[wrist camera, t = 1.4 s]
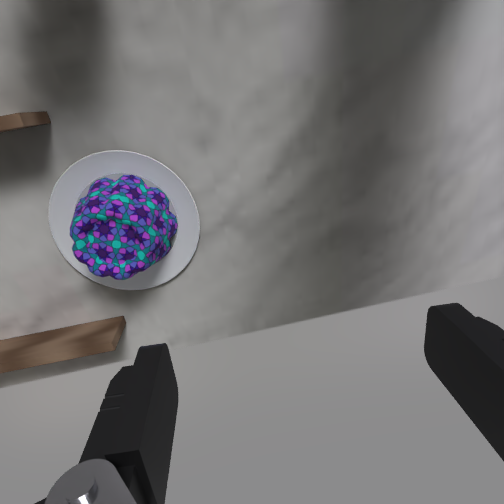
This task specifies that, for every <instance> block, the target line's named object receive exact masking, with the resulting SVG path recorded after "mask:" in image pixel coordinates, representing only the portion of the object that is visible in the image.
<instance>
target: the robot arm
mask: <svg viewBox="0 0 504 504" xmlns="http://www.w3.org/2000/svg"><path fill="white" fill-rule="evenodd" d="M424 352H425V357H426V360H427V363H428V365H429V366H430V368H431V369H432V371H433V372H434V373H435V374H436V376H437V377H438V378H439V380H440V381H441V382H442V383H443V385H444V386H445V387H446V388H447V390H448V391H449V392H450V393H451V395H452V396H453V397H454V399H455V400H456V401H457V402H458V404H459V405H460V406H461V407H462V409H463V410H464V411H465V413H466V414H467V415H468V416H469V418H470V419H471V420H472V421H473V423H474V424H475V425H476V427H477V428H478V429H479V430H480V432H481V433H482V434H483V435H484V437H485V438H486V439H487V441H488V442H489V443H490V444H491V446H492V447H493V448H494V449H495V451H496V452H497V453H498V454H499V456H500V457H501V458H502V460H503V461H504V330H503V329H501V328H500V327H499V326H497V325H495V324H493V323H491V322H489V321H487V320H485V319H483V318H480V317H475V316H473V315H472V314H471V313H470V312H469V311H467V310H466V309H465V308H464V307H463V306H462V305H460V304H458V303H451V304H444V305H437V306H431V307H430V308H429V309H428V313H427V323H426V333H425V343H424ZM177 408H178V387H177V382H176V377H175V373H174V370H173V366H172V361H171V357H170V354H169V349H168V346H167V344H166V343H163V344H156V345H149V346H142V347H140V348H139V350H138V353H137V356H136V359H135V362H134V365H133V366H125V367H122V369H121V370H120V371H119V372H118V373H117V374H116V375H115V376H114V378H113V379H112V380H111V381H110V384H109V387H108V389H107V392H106V394H105V399H103V402H102V404H101V407H100V412H98V415H97V417H96V420H95V422H94V425H93V428H92V430H91V433H90V436H89V438H88V441H87V443H86V446H85V448H84V451H83V454H82V456H81V459H80V461H79V463H78V464H77V465H76V466H74V467H72V468H71V469H69V470H68V471H67V472H65V473H64V474H63V475H62V476H61V477H60V478H59V479H58V480H57V481H56V483H55V484H54V486H53V487H52V488H51V490H50V492H49V494H48V496H47V497H46V498H45V499H43V500H41V501H39V502H37V503H35V504H164V503H165V495H166V488H167V480H168V474H169V467H170V466H169V465H170V459H171V451H172V443H173V437H174V430H175V423H176V415H177Z"/></svg>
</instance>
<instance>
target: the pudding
mask: <svg viewBox="0 0 504 504" xmlns="http://www.w3.org/2000/svg"><path fill="white" fill-rule="evenodd" d="M117 173H125V174H133V175H123V176H121V177H120V178H119V179H117V180H116V181H115V180H111V179H108V178H102V179H99V180H96V179H98V178H100V177H103V176H105V175H110V174H117ZM134 175H136V176H140V177H143V178H145V179H147V180H149V181H151V182H152V183H154V184H155V185H157V186H158V187H159V188H160V189H161V190H162V191H163V192H164V193H163V192H162V191H161V190H159V189H158V188H151V187H147V186H146V184H145V183H144V182H143V180H142V179H141V178H138V177H136V176H134ZM94 180H96V181H95V182H94V183H93V184H92V185H91V186H90V189H89V192H88V194H87V197H84V198H81V199H80V201H79V202H78V204H77V206H76V209H75V205H76V203H77V200H78V197H79V196H80V194H81V193H82V191H83V190H84V189H85V188H86V187H87V186H88V185H89V184H90V183H92V182H93V181H94ZM165 194H166V195H167V196H168V198H169V199H170V200H171V202H172V204H173V206H174V208H175V211H176V215H177V220H178V224H177V220H176V217H175V216H174V215H173V214H172V213H171V212H170V211H168V210H169V200H168V198H167V196H166V195H165ZM74 211H75V212H74ZM48 216H49V226H50V229H51V233H52V237H53V239H54V241H55V243H56V245H57V247H58V249H59V250H60V252H61V253H62V255H63V256H64V258H65V259H66V260H67V261H68V262H69V263H70V264H71V265H72V266H73V267H74V268H75V269H76V270H77V271H79V272H80V273H81V274H83V275H84V276H86V277H87V278H89V279H91V280H93V281H94V282H97V283H99V284H102V285H104V286H107V287H111V288H116V289H121V290H143V289H148V288H152V287H156V286H158V285H161V284H163V283H166V282H167V281H169V280H170V279H172V278H174V277H175V276H176V275H178V274H179V273H180V272H181V271H182V270H183V269H184V268H185V267H186V265H187V264H188V263H189V262H190V260H191V258H192V256H193V254H194V252H195V250H196V247H197V244H198V240H199V233H200V222H199V214H198V210H197V207H196V203H195V201H194V199H193V197H192V195H191V193H190V191H189V190H188V188H187V187H186V185H185V184H184V183H183V181H182V180H181V179H180V178H179V177H178V176H177V175H176V174H175V173H174V172H173V171H172V170H170V169H169V168H168V167H166V166H165V165H163V164H162V163H161V162H159V161H157V160H155V159H153V158H151V157H149V156H146V155H142V154H139V153H136V152H131V151H123V150H111V151H102V152H98V153H94V154H91V155H88V156H86V157H84V158H82V159H79V160H78V161H77V162H75V163H74V164H72V165H71V166H70V167H68V169H67V170H66V171H65V172H64V173H63V174H62V175H61V176H60V178H59V179H58V181H57V183H56V184H55V186H54V188H53V191H52V194H51V197H50V201H49V209H48ZM177 226H178V233H177V237H176V241H175V243H174V245H173V247H172V249H171V250H170V248H171V244H170V238H171V237H172V236H173V235H174V234H175V233H176V231H177ZM169 250H170V251H169ZM168 252H169V253H168ZM167 253H168V254H167ZM166 254H167V255H166ZM165 255H166V256H165ZM164 256H165V257H164ZM162 257H164V258H163V259H162V260H160V259H161V258H162ZM158 260H160V261H159V262H157V261H158ZM155 262H157V263H156V264H154V263H155Z"/></svg>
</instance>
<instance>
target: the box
mask: <svg viewBox="0 0 504 504" xmlns="http://www.w3.org/2000/svg"><path fill="white" fill-rule="evenodd" d="M48 123H51V122H50V119H49V117H48V114H47V111H46V112H26V113H15V114H10V115H5V116H0V133H1V132H6V131H12V130H17V129H22V128H27V127H33V126H38V125H43V124H48ZM125 325H126V321H125V319H124V316H120V317H115V318H110V319H105V320H100V321H95V322H90V323H85V324H80V325H75V326H70V327H65V328H60V329H55V330H50V331H45V332H40V333H35V334H30V335H25V336H20V337H15V338H10V339H5V340H0V373H4V372H9V371H14V370H19V369H24V368H29V367H34V366H39V365H44V364H49V363H54V362H59V361H64V360H69V359H74V358H79V357H84V356H89V355H94V354H99V353H104V352H109V351H113V350H115V349H116V346H117V344H118V341H119V339H120V337H121V334H122V332H123V329H124V327H125Z"/></svg>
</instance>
